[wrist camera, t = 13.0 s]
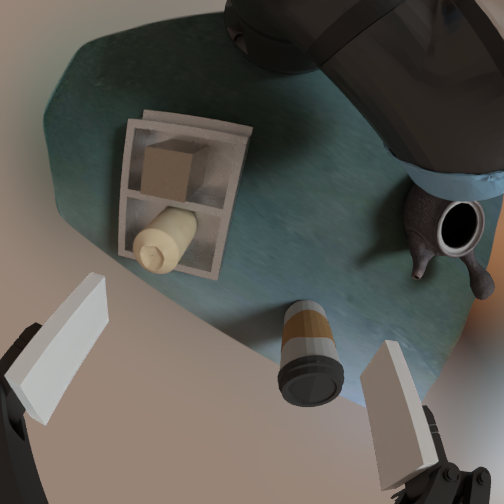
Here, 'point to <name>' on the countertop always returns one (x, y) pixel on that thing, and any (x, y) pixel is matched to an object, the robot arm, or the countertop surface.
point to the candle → (165, 240)
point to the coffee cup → (308, 357)
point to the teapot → (445, 235)
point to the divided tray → (202, 201)
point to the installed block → (174, 169)
